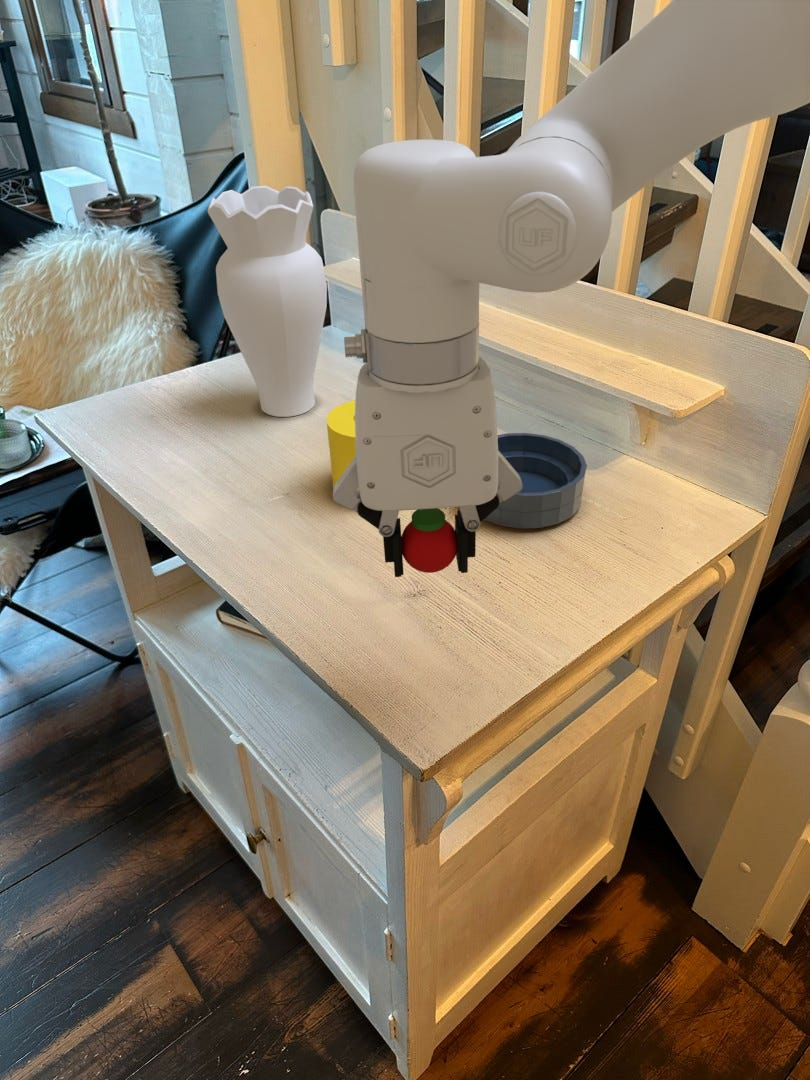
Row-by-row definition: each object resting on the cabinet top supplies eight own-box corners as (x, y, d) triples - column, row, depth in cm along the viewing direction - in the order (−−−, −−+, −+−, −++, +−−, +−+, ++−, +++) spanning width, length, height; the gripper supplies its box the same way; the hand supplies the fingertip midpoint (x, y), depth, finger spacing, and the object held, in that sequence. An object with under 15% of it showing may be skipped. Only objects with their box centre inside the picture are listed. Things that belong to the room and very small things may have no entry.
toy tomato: (464, 554, 63) (464, 503, 60) (450, 588, 59) (449, 536, 56) (411, 546, 64) (408, 496, 61) (394, 579, 60) (390, 528, 57)
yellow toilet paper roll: (357, 517, 88) (352, 446, 83) (319, 480, 95) (312, 412, 90) (429, 491, 92) (428, 422, 87) (388, 457, 99) (384, 391, 94)
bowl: (588, 476, 94) (593, 440, 91) (572, 541, 83) (577, 503, 80) (476, 461, 98) (477, 426, 95) (448, 522, 87) (448, 485, 84)
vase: (222, 424, 108) (181, 208, 91) (259, 381, 120) (229, 182, 103) (320, 432, 106) (296, 210, 88) (348, 387, 117) (332, 183, 100)
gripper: (292, 380, 48) (324, 601, 58) (559, 364, 48) (542, 587, 58) (300, 336, 54) (328, 543, 64) (537, 322, 54) (525, 531, 65)
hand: (429, 562), depth 61 cm, fingers closed on toy tomato, 4 cm apart
